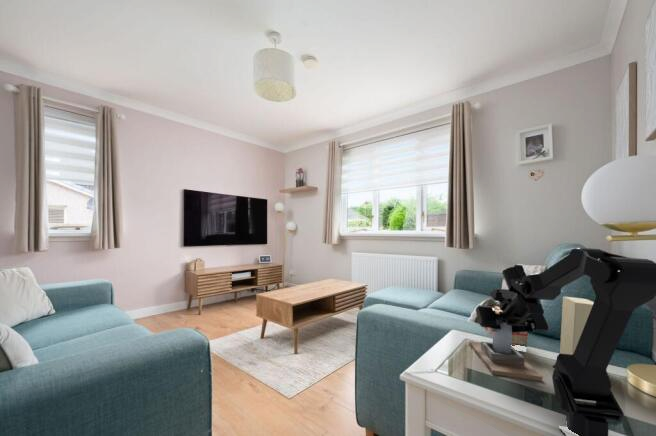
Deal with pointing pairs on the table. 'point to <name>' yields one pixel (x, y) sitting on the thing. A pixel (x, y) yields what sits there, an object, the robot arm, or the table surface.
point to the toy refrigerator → (573, 322)
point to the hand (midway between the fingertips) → (500, 330)
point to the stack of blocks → (514, 335)
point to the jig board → (504, 362)
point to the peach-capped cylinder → (502, 338)
